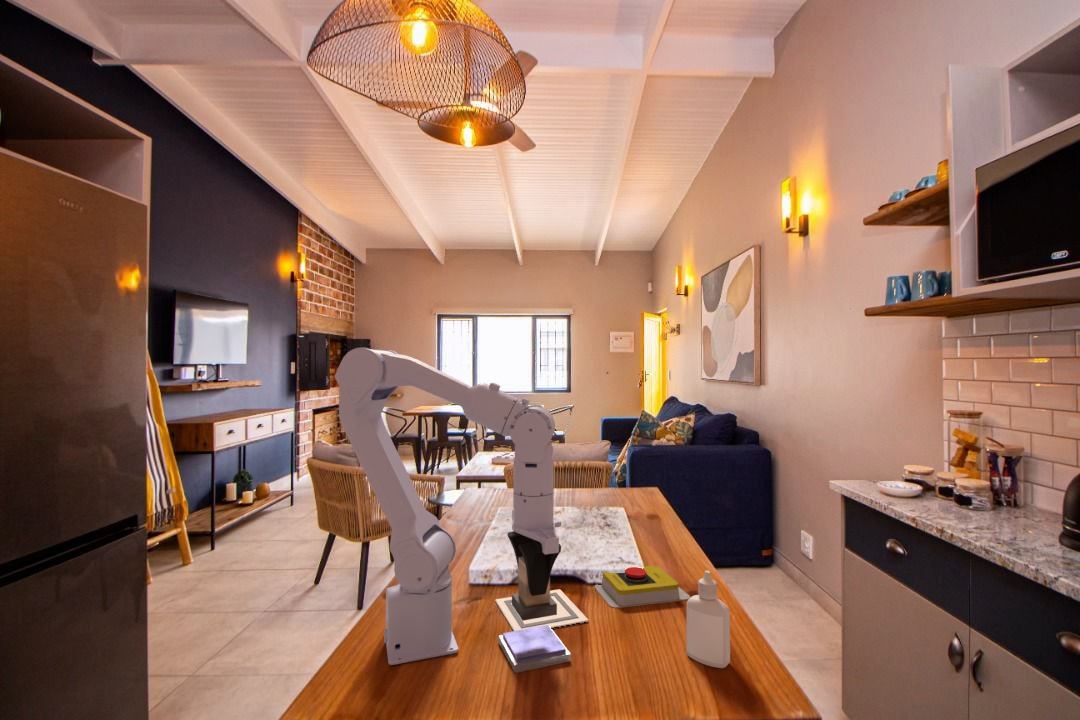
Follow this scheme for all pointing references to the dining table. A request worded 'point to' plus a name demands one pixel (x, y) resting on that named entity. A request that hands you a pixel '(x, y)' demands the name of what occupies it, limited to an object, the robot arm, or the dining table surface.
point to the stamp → (531, 598)
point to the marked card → (565, 616)
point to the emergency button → (639, 587)
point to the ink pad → (533, 648)
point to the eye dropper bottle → (708, 626)
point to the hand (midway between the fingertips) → (533, 588)
